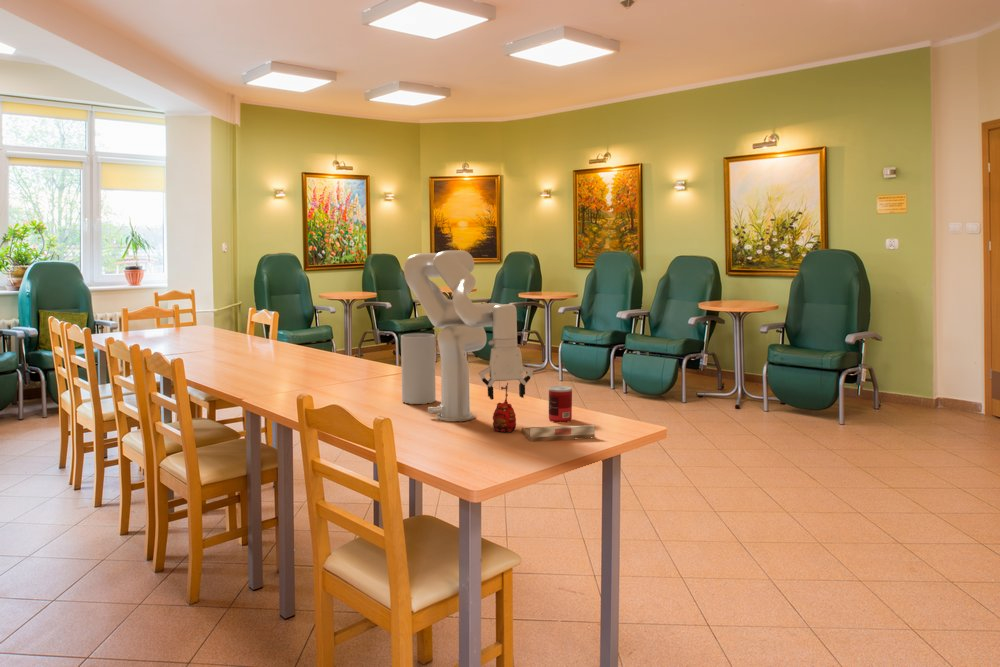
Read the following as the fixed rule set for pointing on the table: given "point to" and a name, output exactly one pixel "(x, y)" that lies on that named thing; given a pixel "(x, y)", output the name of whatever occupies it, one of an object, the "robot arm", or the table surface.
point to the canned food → (560, 403)
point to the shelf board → (559, 432)
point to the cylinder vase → (418, 368)
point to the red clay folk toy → (504, 416)
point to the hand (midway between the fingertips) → (506, 397)
